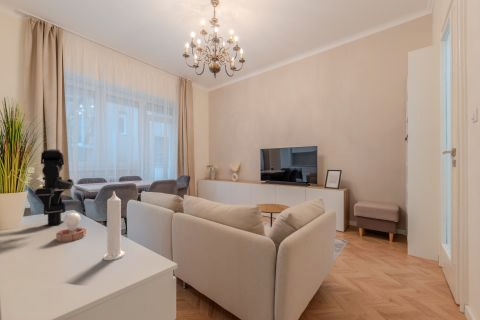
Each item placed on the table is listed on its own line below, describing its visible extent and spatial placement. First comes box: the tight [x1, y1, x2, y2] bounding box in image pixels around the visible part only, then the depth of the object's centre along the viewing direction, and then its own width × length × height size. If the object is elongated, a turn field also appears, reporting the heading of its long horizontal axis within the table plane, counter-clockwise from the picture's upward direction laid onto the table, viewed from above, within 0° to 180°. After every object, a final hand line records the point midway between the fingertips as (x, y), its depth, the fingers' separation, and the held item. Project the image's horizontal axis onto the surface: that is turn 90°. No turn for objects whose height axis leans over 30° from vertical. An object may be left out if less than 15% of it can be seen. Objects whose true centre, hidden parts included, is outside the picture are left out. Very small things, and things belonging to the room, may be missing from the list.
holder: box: [55, 226, 87, 243], centre depth 104 cm, size 10×10×3 cm
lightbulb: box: [63, 212, 81, 234], centre depth 104 cm, size 6×6×11 cm
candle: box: [103, 190, 125, 261], centre depth 84 cm, size 7×7×25 cm
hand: (52, 206), depth 111 cm, fingers open, 9 cm apart
